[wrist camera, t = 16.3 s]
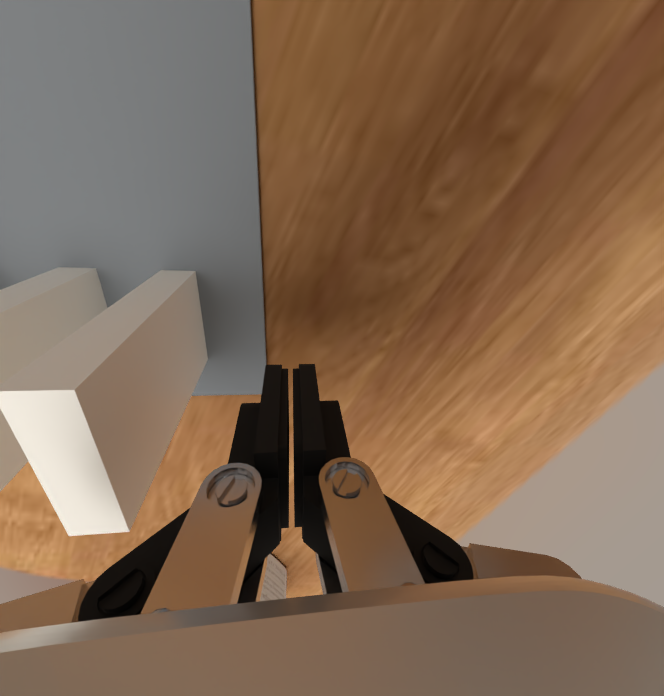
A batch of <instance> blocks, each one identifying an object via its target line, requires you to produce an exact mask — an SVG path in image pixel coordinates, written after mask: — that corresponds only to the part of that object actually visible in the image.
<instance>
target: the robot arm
mask: <svg viewBox="0 0 664 696" xmlns="http://www.w3.org/2000/svg"><path fill="white" fill-rule="evenodd" d="M293 426H294V509H295V527H302V539H303V542H304V543H306V544H307V545H308V546H309V547H310V548H311V549H312V550H314V551H315V552H316V562H317V567H318V571H319V576H320V581H321V586H322V590H323V595H314V596H305V597H296V598H286V599H277V600H268V601H260V597H261V592H262V587H263V582H264V577H265V572H266V567H267V556H268V555H269V554H270V553H271V552H272V551H273V550H274V549H275V548H276V547H277V546H278V545H279V544H280V541H281V528H289V400H288V369H282V365H266V366H265V373H264V380H263V388H262V395H261V403H242V404H241V407H240V411H239V416H238V420H237V425H236V429H235V434H234V438H233V443H232V448H231V452H230V457H229V461H228V464H227V465H223V466H221V467H219V468H217V469H215V470H214V471H212V472H211V473H210V474H209V475H208V476H207V477H206V478H205V480H204V481H203V483H202V484H201V486H200V489H199V491H198V493H197V495H196V497H195V499H194V501H193V503H192V506H191V508H189V509H188V510H187V511H185V512H184V513H183V514H181V515H180V516H178V517H177V518H176V519H174V520H173V521H172V522H170V523H169V524H168V525H166V526H165V527H164V528H162V529H161V530H160V531H158V532H157V533H156V534H154V535H153V536H151V537H150V538H149V539H147V540H146V541H145V542H143V543H142V544H141V545H139V546H138V547H137V548H135V549H134V550H133V551H131V552H130V553H129V554H127V555H126V556H124V557H123V558H122V559H120V560H119V561H118V562H116V563H115V564H114V565H112V566H111V567H110V568H108V569H107V570H106V571H105V572H104V573H103V574H102V575H100V576H99V577H98V578H97V579H96V580H95V581H92V582H89V583H85V581H84V579H82V580H78V581H75V582H72V583H69V584H65V585H62V586H59V587H55V588H52V589H49V590H46V591H42V592H39V593H36V594H32V595H29V596H26V597H22V598H19V599H16V600H13V601H9V602H6V603H3V604H0V696H664V607H663V606H661V605H658V604H656V603H654V602H652V601H650V600H648V599H646V598H643V597H641V596H638V595H636V594H633V593H631V592H628V591H624V590H622V589H619V588H616V587H612V586H609V585H605V584H601V583H597V582H594V581H589V580H585V579H582V578H581V577H580V576H579V575H578V574H577V573H576V572H575V571H574V570H573V569H572V568H571V567H570V566H568V565H567V564H565V563H564V562H562V561H560V560H559V559H557V558H554V557H551V556H547V555H542V554H536V553H529V552H523V551H516V550H510V549H503V548H497V547H490V546H483V545H477V544H471V543H470V544H469V547H462V546H460V545H459V544H457V543H456V542H455V541H454V540H453V539H451V538H450V537H449V536H447V535H446V534H444V533H442V532H441V531H439V530H438V529H436V528H435V527H433V526H432V525H430V524H429V523H427V522H426V521H424V520H423V519H421V518H420V517H418V516H416V515H415V514H413V513H412V512H410V511H409V510H407V509H406V508H404V507H403V506H401V505H400V504H398V503H397V502H395V501H394V500H392V499H390V498H389V497H387V496H386V495H384V494H383V492H382V490H381V488H380V486H379V484H378V482H377V480H376V477H375V475H374V473H373V472H372V470H371V469H370V467H368V466H367V465H366V464H365V463H364V462H362V461H360V460H357V459H355V458H351V457H350V452H349V447H348V443H347V438H346V433H345V429H344V424H343V420H342V415H341V410H340V406H339V402H338V401H320V400H319V393H318V385H317V378H316V370H315V364H299V368H298V369H293Z"/></svg>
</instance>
